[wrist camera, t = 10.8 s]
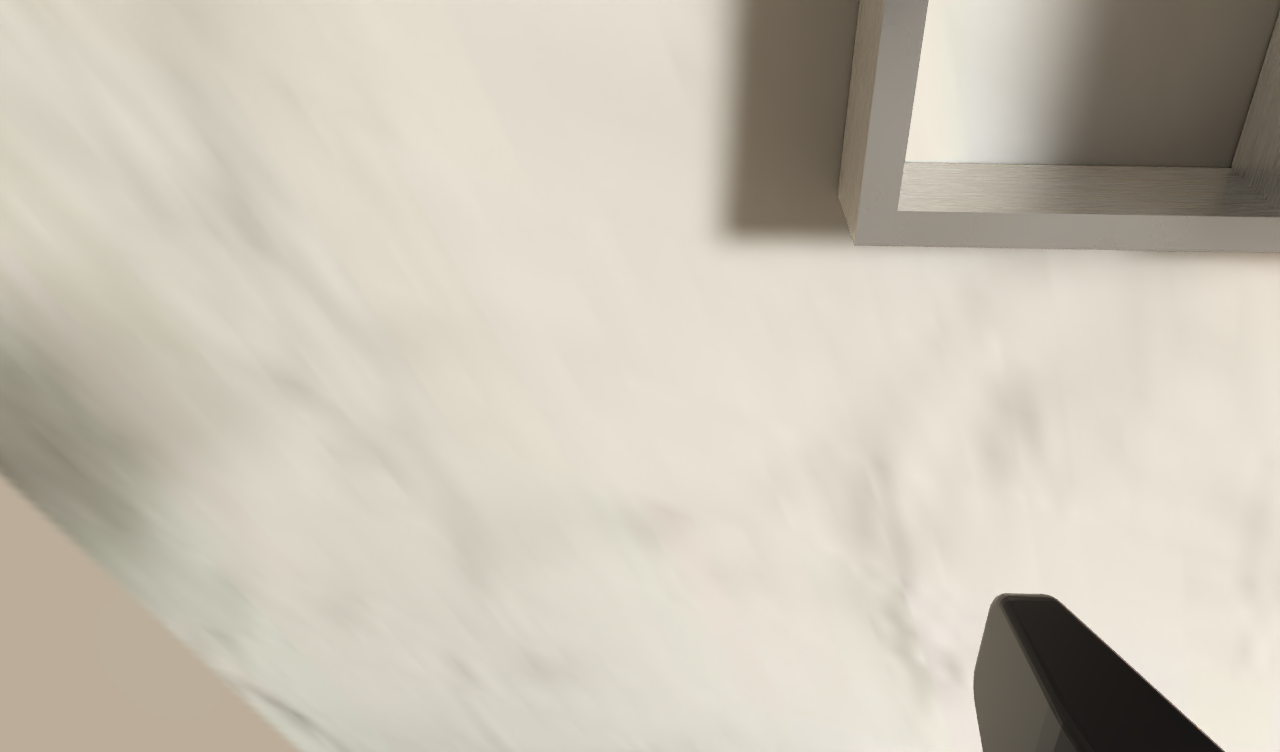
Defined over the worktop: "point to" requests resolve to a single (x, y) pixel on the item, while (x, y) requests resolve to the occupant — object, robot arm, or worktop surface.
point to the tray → (1039, 173)
